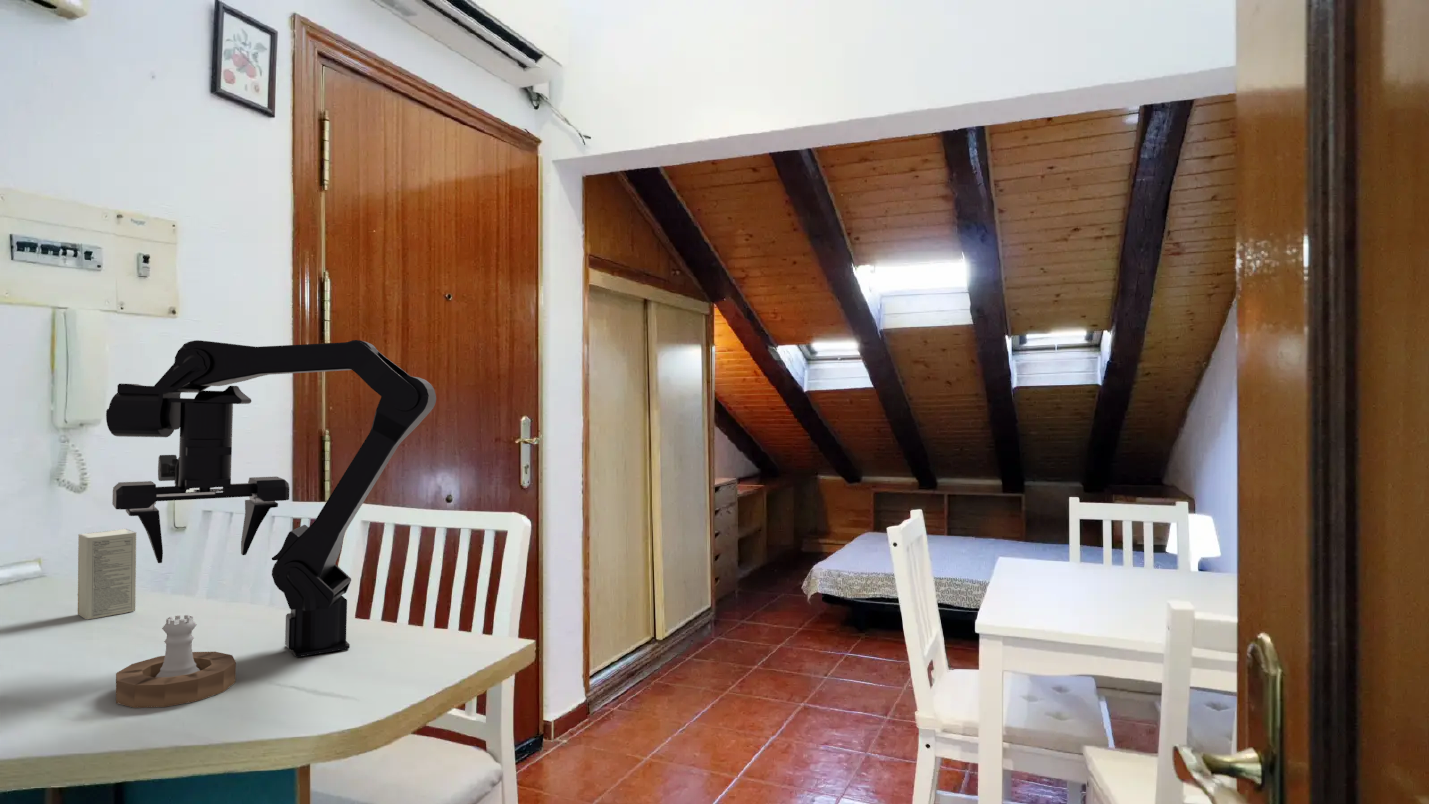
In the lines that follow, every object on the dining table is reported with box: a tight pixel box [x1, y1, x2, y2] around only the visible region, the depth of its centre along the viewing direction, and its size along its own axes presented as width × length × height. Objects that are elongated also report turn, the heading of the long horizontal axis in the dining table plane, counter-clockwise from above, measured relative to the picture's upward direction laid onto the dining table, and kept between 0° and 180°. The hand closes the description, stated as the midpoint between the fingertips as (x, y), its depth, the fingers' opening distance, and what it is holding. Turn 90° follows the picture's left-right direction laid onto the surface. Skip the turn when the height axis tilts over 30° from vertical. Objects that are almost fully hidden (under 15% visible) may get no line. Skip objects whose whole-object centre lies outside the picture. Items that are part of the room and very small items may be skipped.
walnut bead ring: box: [115, 651, 237, 709], centre depth 89 cm, size 11×11×2 cm
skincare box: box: [77, 528, 137, 620], centre depth 117 cm, size 6×4×12 cm
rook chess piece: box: [156, 614, 200, 677], centre depth 89 cm, size 4×4×8 cm
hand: (202, 558), depth 102 cm, fingers open, 9 cm apart
